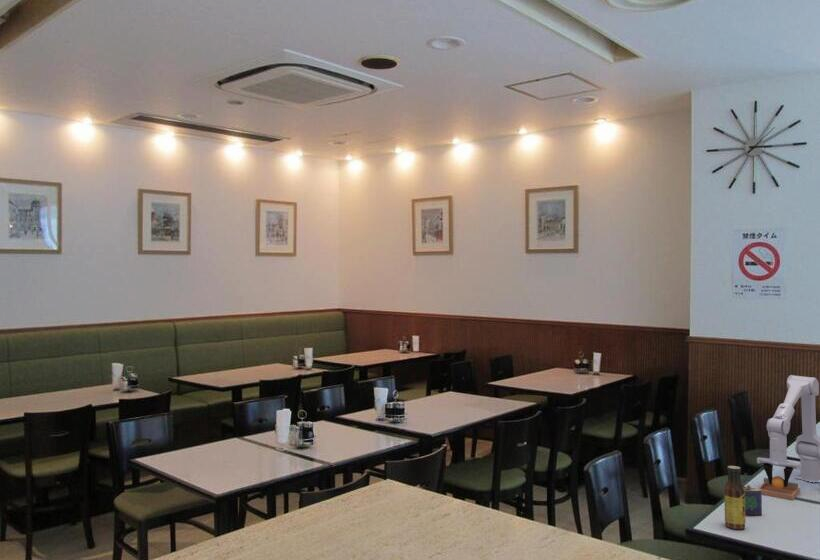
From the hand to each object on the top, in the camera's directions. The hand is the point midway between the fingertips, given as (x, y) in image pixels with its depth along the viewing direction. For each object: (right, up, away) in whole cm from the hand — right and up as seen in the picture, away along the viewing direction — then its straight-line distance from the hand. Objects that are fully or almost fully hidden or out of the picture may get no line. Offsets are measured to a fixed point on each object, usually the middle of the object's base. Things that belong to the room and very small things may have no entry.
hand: (778, 484), depth 257 cm
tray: (0, -3, 0) cm, 3 cm away
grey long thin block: (+4, -3, +6) cm, 8 cm away
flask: (-23, -4, -23) cm, 33 cm away
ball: (0, +1, 0) cm, 1 cm away
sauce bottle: (-34, -4, -34) cm, 48 cm away
